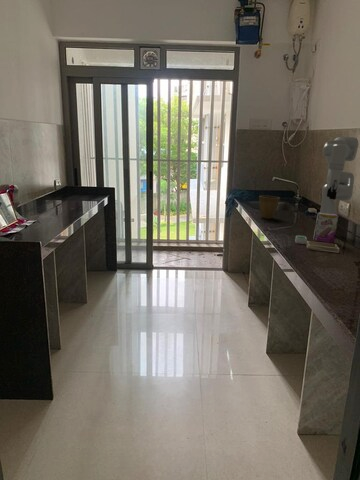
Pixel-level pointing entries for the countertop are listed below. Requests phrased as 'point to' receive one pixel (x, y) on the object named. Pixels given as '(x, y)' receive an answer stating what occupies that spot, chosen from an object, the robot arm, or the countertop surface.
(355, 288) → the countertop surface
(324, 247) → the tray
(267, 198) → the plant pot
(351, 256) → the countertop surface
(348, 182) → the robot arm
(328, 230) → the candy bar box
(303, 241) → the button housing
